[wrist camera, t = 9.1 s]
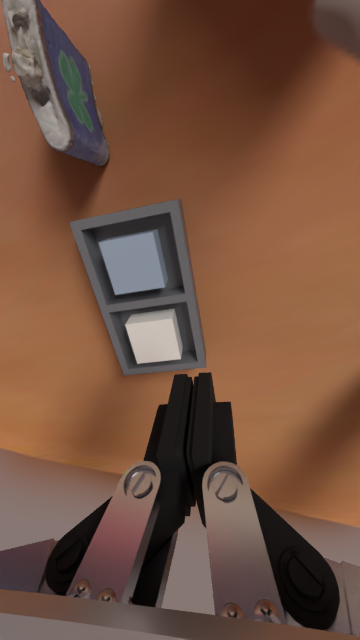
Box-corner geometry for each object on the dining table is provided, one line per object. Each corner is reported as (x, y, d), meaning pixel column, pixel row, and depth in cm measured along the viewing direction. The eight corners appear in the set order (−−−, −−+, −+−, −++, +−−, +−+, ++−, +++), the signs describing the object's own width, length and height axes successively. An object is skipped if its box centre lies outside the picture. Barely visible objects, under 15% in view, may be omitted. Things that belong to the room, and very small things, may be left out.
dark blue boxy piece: (113, 164, 27) (63, 143, 17) (89, 169, 27) (26, 151, 17) (87, 50, 23) (3, -62, 13) (59, 57, 23) (-43, -45, 13)
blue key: (157, 228, 27) (152, 232, 25) (168, 279, 30) (164, 287, 27) (108, 238, 28) (98, 242, 25) (122, 286, 31) (115, 294, 28)
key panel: (180, 199, 28) (177, 199, 24) (205, 351, 36) (206, 367, 33) (85, 219, 29) (68, 222, 26) (131, 359, 38) (123, 375, 35)
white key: (174, 308, 32) (172, 318, 29) (182, 346, 34) (180, 359, 31) (131, 314, 32) (125, 324, 30) (142, 351, 35) (137, 363, 32)
